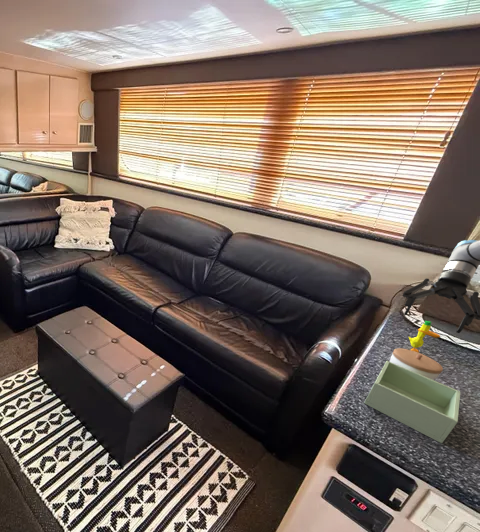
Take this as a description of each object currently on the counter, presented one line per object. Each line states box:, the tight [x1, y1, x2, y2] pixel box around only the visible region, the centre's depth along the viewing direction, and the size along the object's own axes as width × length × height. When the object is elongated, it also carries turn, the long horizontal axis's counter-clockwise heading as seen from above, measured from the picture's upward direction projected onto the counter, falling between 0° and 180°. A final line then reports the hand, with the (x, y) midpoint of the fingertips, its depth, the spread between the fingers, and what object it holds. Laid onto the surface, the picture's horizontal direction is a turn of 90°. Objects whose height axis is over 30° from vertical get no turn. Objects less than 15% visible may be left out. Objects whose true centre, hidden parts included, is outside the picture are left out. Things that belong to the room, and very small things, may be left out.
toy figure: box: [408, 320, 441, 353], centre depth 112 cm, size 7×4×12 cm, turn 39°
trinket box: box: [388, 347, 444, 381], centre depth 96 cm, size 11×11×9 cm
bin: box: [363, 360, 461, 444], centre depth 85 cm, size 15×17×7 cm
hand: (431, 322), depth 114 cm, fingers open, 13 cm apart
